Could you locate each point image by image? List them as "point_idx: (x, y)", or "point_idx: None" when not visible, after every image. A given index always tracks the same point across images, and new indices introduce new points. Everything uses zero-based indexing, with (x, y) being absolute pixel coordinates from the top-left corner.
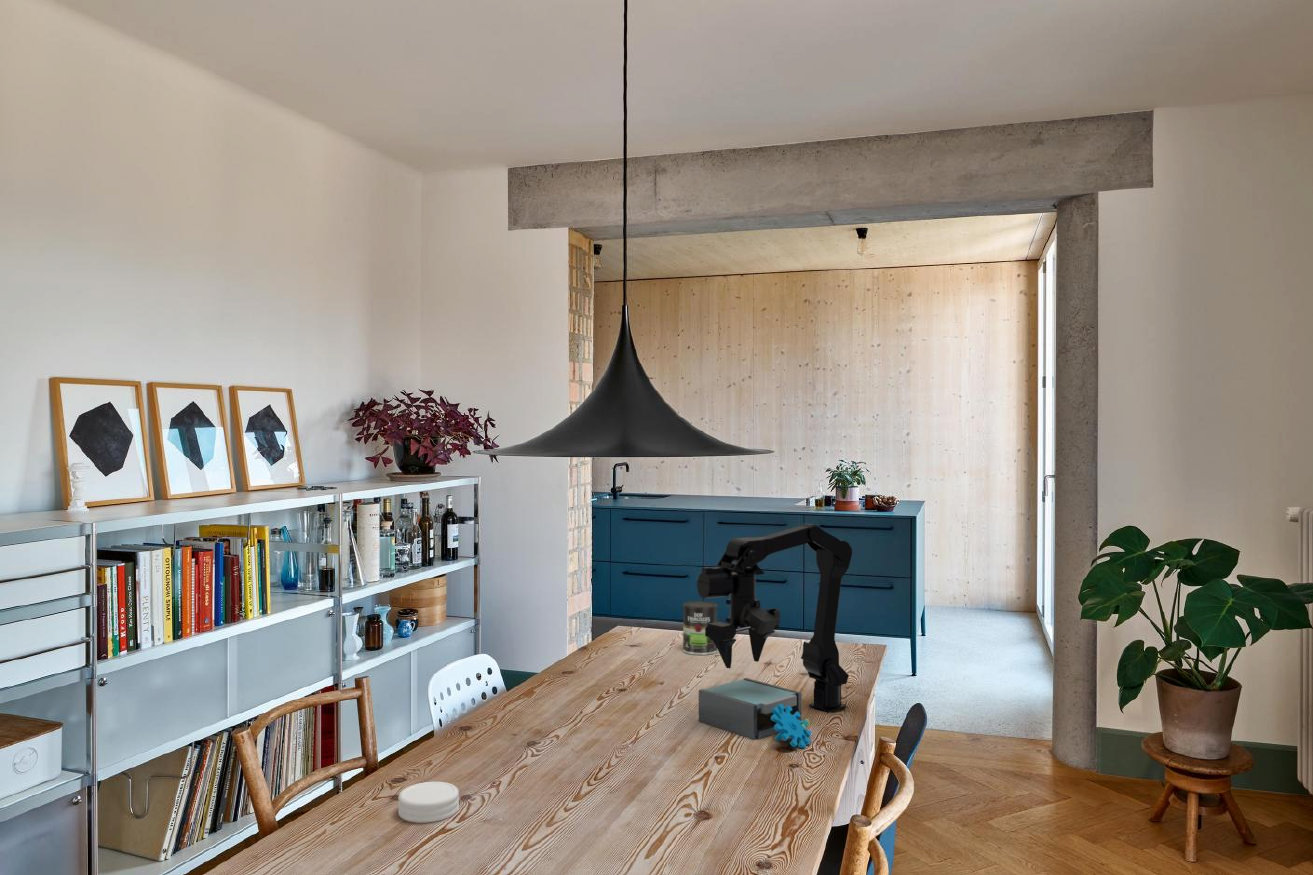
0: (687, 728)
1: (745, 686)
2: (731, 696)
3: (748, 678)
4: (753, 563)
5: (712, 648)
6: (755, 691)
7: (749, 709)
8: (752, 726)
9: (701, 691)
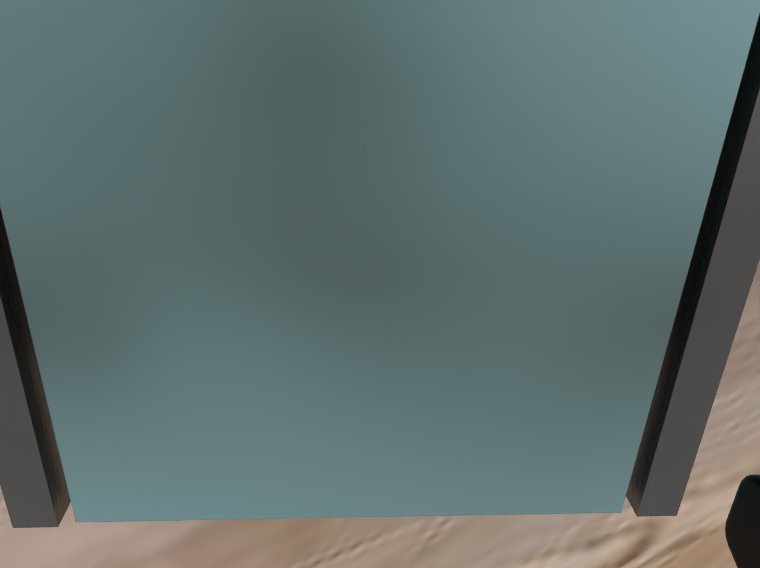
0: (745, 309)
1: (243, 348)
2: (676, 191)
3: (8, 502)
4: None
5: None
6: (312, 137)
7: None
8: None
9: (683, 482)
